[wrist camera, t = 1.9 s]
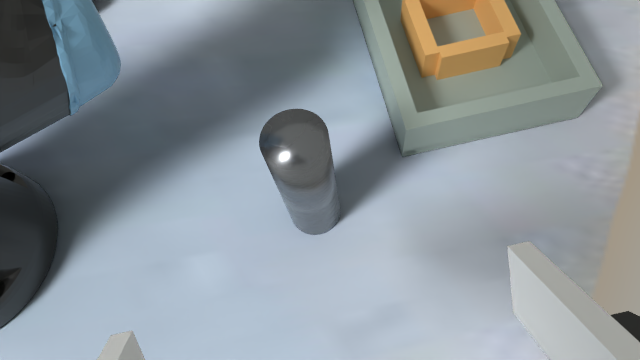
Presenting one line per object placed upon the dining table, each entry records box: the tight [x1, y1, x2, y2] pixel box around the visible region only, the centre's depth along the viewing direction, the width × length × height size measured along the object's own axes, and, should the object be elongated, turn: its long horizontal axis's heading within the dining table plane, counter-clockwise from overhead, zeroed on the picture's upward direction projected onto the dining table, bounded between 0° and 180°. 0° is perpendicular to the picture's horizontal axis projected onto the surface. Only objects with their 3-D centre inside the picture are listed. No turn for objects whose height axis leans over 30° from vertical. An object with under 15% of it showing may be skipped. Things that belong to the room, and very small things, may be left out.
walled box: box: [353, 0, 603, 157], centre depth 40 cm, size 15×20×4 cm
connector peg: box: [259, 109, 340, 235], centre depth 32 cm, size 4×4×12 cm
